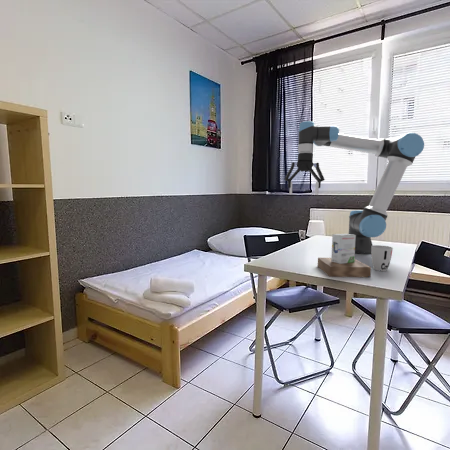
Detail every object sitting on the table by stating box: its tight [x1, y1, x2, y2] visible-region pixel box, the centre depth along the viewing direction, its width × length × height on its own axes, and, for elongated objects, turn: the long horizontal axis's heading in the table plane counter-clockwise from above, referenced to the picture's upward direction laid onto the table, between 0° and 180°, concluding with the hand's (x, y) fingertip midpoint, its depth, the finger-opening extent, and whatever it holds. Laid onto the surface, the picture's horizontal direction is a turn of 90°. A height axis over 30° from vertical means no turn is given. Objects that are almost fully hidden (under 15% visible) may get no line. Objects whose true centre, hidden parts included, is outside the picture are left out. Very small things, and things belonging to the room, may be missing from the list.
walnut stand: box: [317, 257, 372, 278], centre depth 125 cm, size 16×16×4 cm
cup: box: [370, 244, 394, 272], centre depth 128 cm, size 8×8×10 cm
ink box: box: [330, 233, 356, 264], centre depth 124 cm, size 9×5×12 cm, turn 114°
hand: (303, 194), depth 155 cm, fingers open, 13 cm apart
